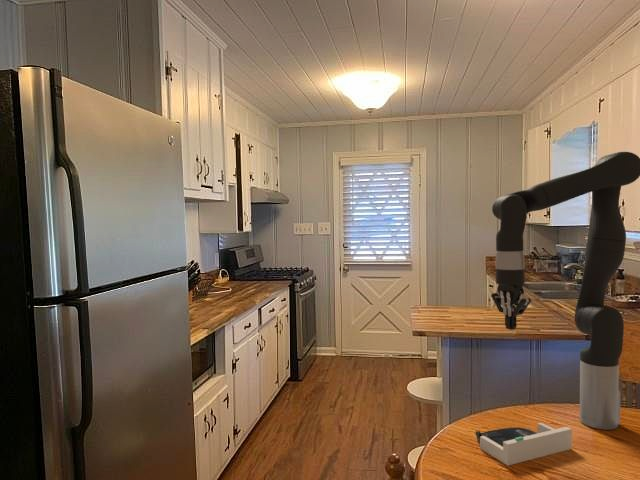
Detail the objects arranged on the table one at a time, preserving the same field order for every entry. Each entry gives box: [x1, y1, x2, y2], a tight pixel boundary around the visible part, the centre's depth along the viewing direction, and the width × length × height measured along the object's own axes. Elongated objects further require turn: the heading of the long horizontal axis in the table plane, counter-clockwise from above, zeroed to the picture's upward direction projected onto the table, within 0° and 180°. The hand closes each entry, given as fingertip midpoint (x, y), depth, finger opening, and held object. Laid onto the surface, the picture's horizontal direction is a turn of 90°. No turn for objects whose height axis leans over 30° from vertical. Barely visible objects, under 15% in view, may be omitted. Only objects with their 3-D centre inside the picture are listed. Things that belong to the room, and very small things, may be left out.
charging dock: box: [479, 422, 573, 466], centre depth 118 cm, size 20×9×6 cm, turn 112°
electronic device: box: [475, 426, 538, 447], centre depth 121 cm, size 9×6×15 cm
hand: (510, 329), depth 132 cm, fingers closed
